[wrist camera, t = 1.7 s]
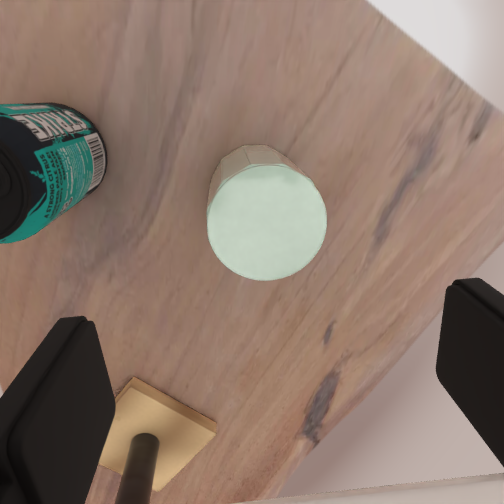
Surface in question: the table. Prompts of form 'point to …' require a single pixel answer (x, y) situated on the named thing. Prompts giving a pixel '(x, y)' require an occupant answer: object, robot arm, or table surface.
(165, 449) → the cup stand
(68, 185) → the beverage can
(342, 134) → the table surface
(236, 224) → the cup
